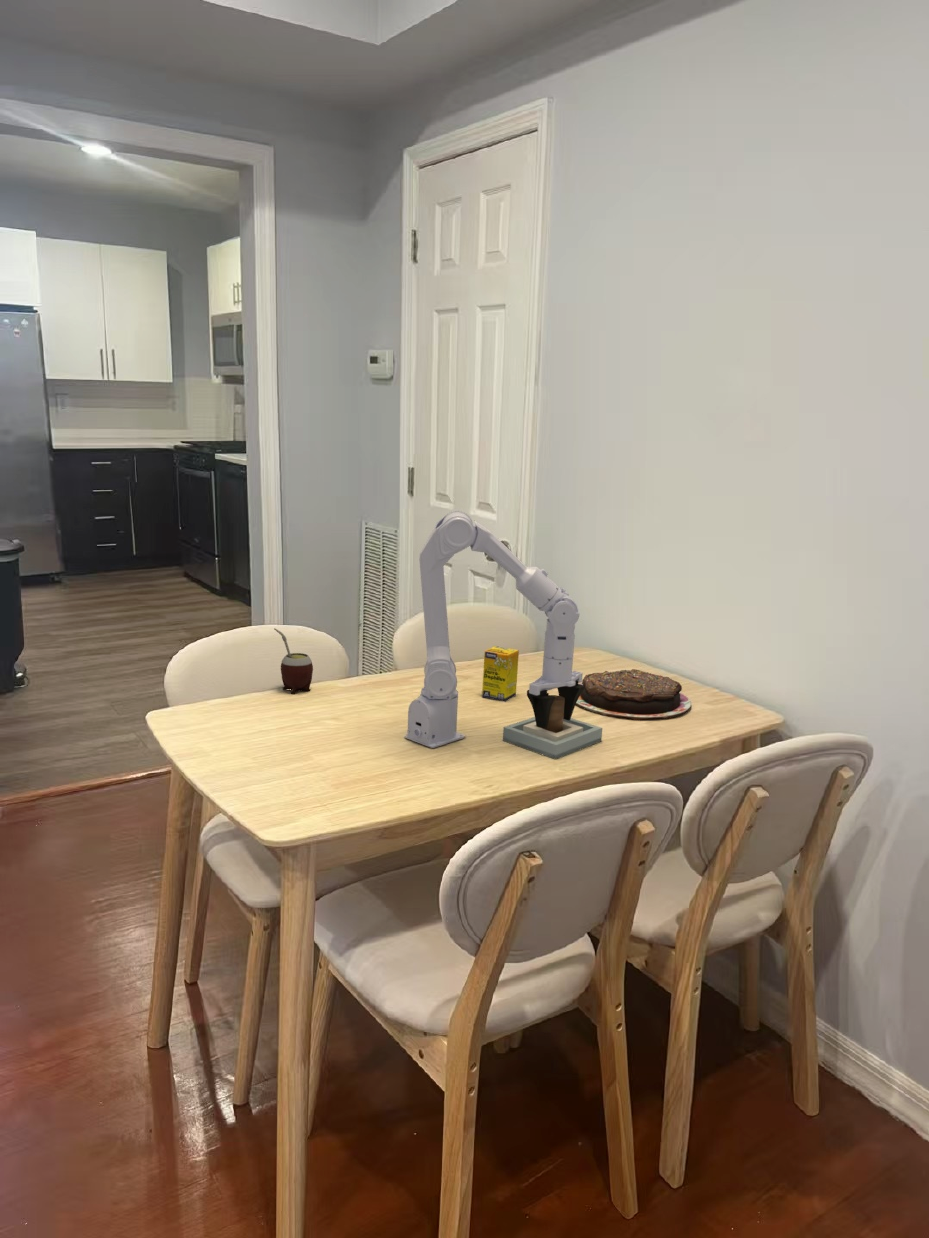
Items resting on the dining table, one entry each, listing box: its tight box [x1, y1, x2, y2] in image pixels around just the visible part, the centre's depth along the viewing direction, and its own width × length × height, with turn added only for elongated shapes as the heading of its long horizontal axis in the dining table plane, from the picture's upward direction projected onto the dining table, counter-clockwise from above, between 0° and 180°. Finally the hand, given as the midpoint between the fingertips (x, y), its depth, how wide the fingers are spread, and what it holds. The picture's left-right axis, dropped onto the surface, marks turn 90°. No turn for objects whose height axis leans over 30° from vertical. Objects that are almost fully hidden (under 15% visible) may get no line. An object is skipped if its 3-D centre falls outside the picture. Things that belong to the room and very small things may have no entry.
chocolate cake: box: [575, 668, 692, 721], centre depth 207 cm, size 28×28×7 cm
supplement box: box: [481, 645, 520, 703], centre depth 205 cm, size 6×6×11 cm
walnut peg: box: [542, 694, 565, 733], centre depth 178 cm, size 4×4×8 cm
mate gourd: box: [273, 627, 314, 695], centre depth 202 cm, size 8×8×15 cm
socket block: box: [523, 721, 583, 742], centre depth 179 cm, size 8×8×2 cm
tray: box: [502, 716, 603, 760], centre depth 179 cm, size 15×13×3 cm
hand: (553, 723), depth 178 cm, fingers open, 7 cm apart
